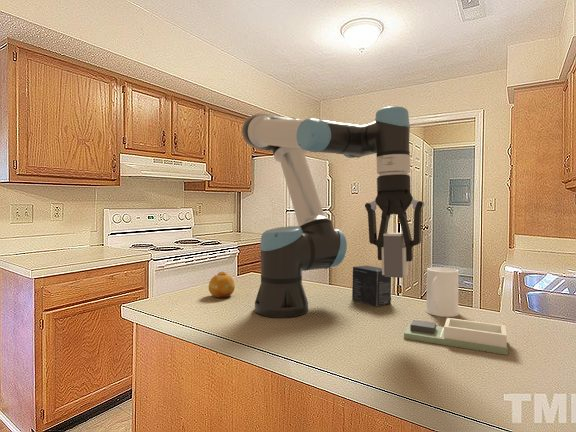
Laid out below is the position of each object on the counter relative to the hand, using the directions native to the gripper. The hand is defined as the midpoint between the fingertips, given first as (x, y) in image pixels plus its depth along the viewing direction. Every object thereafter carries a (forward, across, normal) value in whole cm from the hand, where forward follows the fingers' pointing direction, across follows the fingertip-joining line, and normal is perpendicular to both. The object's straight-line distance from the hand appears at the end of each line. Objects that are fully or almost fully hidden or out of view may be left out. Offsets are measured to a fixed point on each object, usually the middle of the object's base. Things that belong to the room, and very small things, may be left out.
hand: (395, 274), depth 87 cm
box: (+13, -13, +24) cm, 30 cm away
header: (+13, +16, +1) cm, 21 cm away
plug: (0, 0, 0) cm, 0 cm away
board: (+14, +12, +1) cm, 19 cm away
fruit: (+12, -58, +7) cm, 59 cm away
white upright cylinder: (+14, +7, +21) cm, 26 cm away
